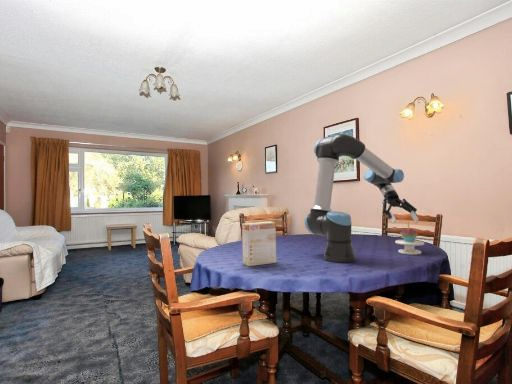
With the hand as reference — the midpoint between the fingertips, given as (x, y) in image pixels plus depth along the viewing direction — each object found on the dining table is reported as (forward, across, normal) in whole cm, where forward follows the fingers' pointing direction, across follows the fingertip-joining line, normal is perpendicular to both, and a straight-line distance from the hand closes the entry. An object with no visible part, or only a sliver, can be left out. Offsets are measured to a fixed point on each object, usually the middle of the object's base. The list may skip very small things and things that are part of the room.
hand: (406, 221), depth 167 cm
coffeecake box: (+20, +84, -4) cm, 86 cm away
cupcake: (+10, 0, -5) cm, 11 cm away
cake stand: (+14, 0, -9) cm, 17 cm away
